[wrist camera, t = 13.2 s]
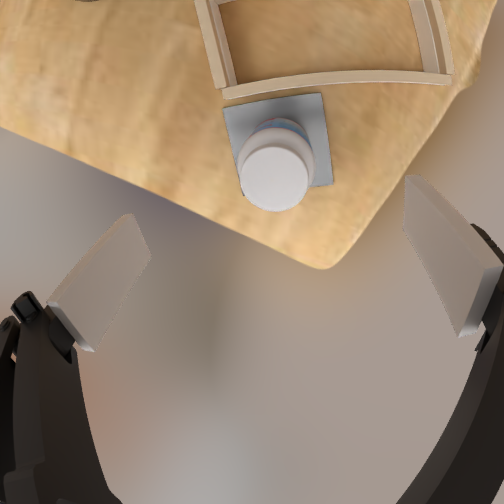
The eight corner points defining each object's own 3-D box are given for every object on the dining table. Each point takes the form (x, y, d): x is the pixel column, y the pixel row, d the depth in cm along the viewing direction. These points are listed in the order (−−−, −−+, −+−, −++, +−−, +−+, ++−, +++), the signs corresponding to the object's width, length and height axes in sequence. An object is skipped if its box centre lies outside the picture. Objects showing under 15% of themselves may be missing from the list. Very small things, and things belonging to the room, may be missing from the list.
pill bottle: (263, 107, 25) (247, 120, 16) (319, 132, 26) (336, 160, 17) (241, 159, 29) (215, 200, 19) (294, 182, 29) (295, 234, 20)
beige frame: (204, -1, 19) (188, -15, 15) (412, -15, 14) (430, -27, 10) (229, 99, 26) (217, 102, 22) (434, 84, 21) (457, 87, 17)
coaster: (223, 108, 26) (222, 108, 26) (320, 92, 24) (320, 92, 24) (243, 194, 31) (243, 196, 31) (332, 182, 29) (333, 184, 29)
